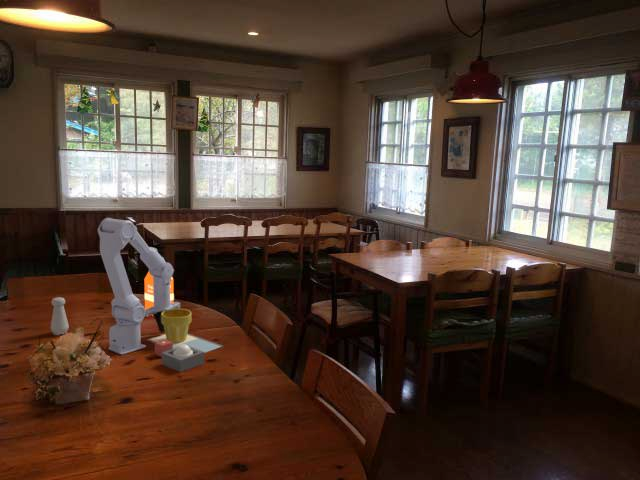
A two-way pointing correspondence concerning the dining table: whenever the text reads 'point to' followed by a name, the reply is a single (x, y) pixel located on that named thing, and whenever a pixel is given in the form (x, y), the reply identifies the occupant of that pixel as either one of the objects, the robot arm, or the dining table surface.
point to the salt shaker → (59, 317)
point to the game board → (191, 342)
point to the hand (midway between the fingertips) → (162, 331)
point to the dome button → (183, 351)
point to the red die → (162, 347)
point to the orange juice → (150, 294)
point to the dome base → (182, 360)
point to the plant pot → (176, 324)
